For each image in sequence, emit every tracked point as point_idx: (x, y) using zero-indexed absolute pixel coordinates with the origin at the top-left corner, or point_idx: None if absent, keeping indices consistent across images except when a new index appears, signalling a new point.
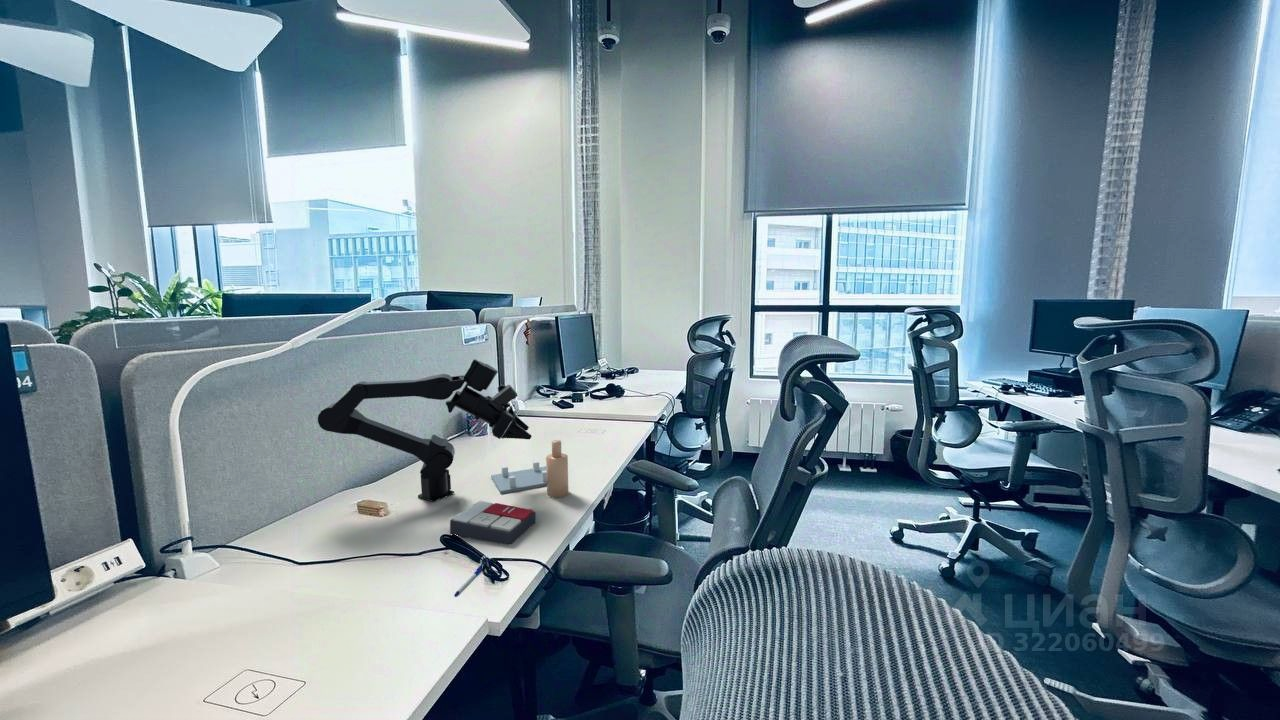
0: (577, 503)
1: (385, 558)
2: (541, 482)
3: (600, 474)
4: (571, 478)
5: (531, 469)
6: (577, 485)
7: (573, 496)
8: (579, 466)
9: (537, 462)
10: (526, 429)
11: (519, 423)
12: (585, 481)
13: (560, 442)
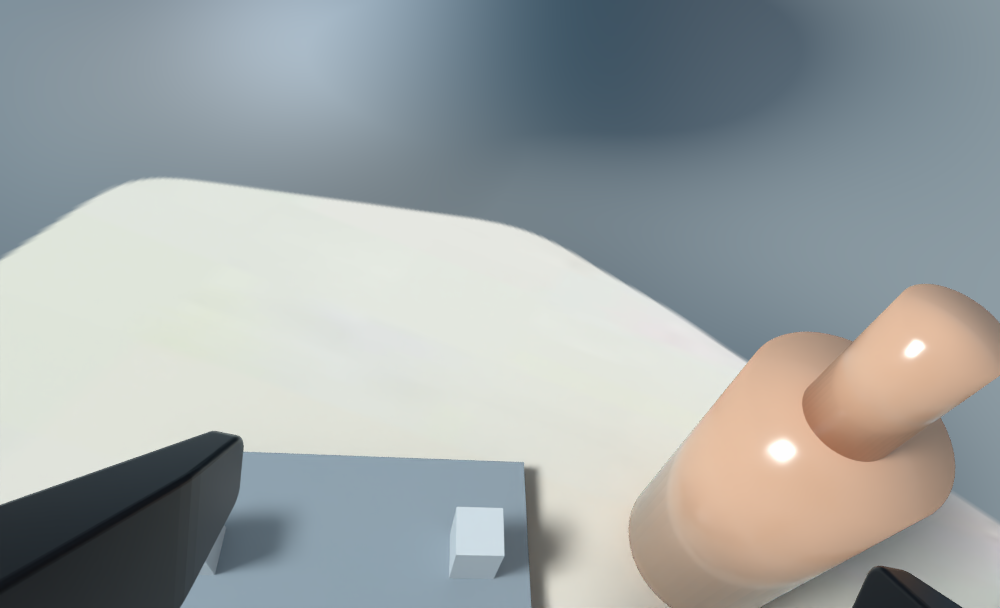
0: None
1: None
2: (505, 597)
3: (486, 237)
4: (468, 378)
5: None
6: (600, 391)
7: None
8: (288, 267)
9: None
10: (234, 499)
11: (96, 603)
12: (555, 333)
13: (967, 304)
